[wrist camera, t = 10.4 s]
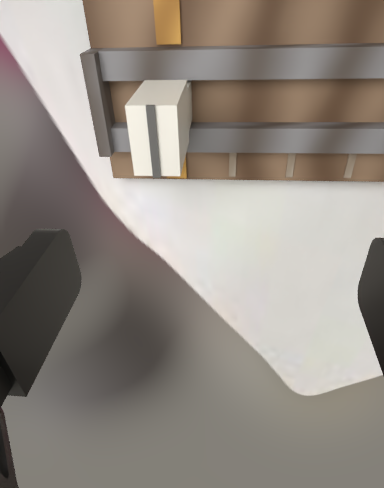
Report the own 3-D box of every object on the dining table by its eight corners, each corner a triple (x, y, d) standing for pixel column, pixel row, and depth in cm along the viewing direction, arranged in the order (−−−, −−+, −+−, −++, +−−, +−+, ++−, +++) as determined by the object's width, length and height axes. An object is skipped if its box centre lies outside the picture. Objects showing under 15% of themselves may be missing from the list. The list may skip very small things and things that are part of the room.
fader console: (459, -16, 25) (497, -14, 21) (396, 171, 33) (416, 196, 30) (90, -5, 27) (69, -1, 24) (118, 168, 36) (106, 190, 32)
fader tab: (190, 69, 28) (176, 105, 20) (192, 127, 30) (180, 178, 23) (152, 69, 28) (123, 105, 21) (157, 128, 31) (133, 177, 23)
